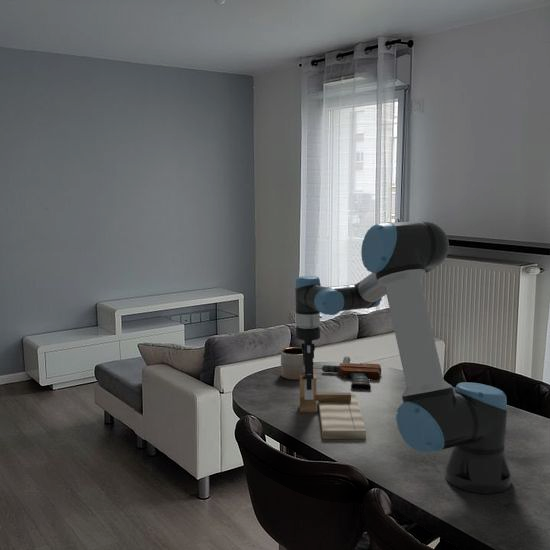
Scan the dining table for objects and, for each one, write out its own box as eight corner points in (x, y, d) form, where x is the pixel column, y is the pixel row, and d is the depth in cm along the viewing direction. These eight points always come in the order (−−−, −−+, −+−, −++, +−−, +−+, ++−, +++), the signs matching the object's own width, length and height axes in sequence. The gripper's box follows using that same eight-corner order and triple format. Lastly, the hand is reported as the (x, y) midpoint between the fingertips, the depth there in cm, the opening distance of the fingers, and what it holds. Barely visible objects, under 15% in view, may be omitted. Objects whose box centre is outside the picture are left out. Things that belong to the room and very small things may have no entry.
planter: (278, 379, 233) (278, 354, 232) (283, 371, 244) (283, 346, 242) (308, 381, 232) (308, 355, 230) (311, 372, 242) (311, 347, 241)
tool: (379, 383, 220) (382, 355, 249) (301, 379, 225) (312, 352, 254) (379, 394, 221) (381, 365, 249) (301, 390, 226) (312, 362, 254)
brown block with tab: (351, 412, 201) (352, 378, 199) (300, 412, 201) (300, 378, 199) (349, 405, 207) (350, 372, 205) (299, 405, 207) (299, 372, 205)
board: (365, 439, 180) (366, 430, 180) (322, 438, 180) (322, 430, 180) (355, 402, 210) (355, 394, 209) (318, 402, 210) (318, 394, 209)
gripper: (322, 335, 188) (322, 405, 190) (318, 317, 212) (318, 380, 215) (296, 335, 188) (296, 405, 191) (295, 317, 212) (295, 380, 215)
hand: (308, 392), depth 203 cm, fingers open, 13 cm apart
